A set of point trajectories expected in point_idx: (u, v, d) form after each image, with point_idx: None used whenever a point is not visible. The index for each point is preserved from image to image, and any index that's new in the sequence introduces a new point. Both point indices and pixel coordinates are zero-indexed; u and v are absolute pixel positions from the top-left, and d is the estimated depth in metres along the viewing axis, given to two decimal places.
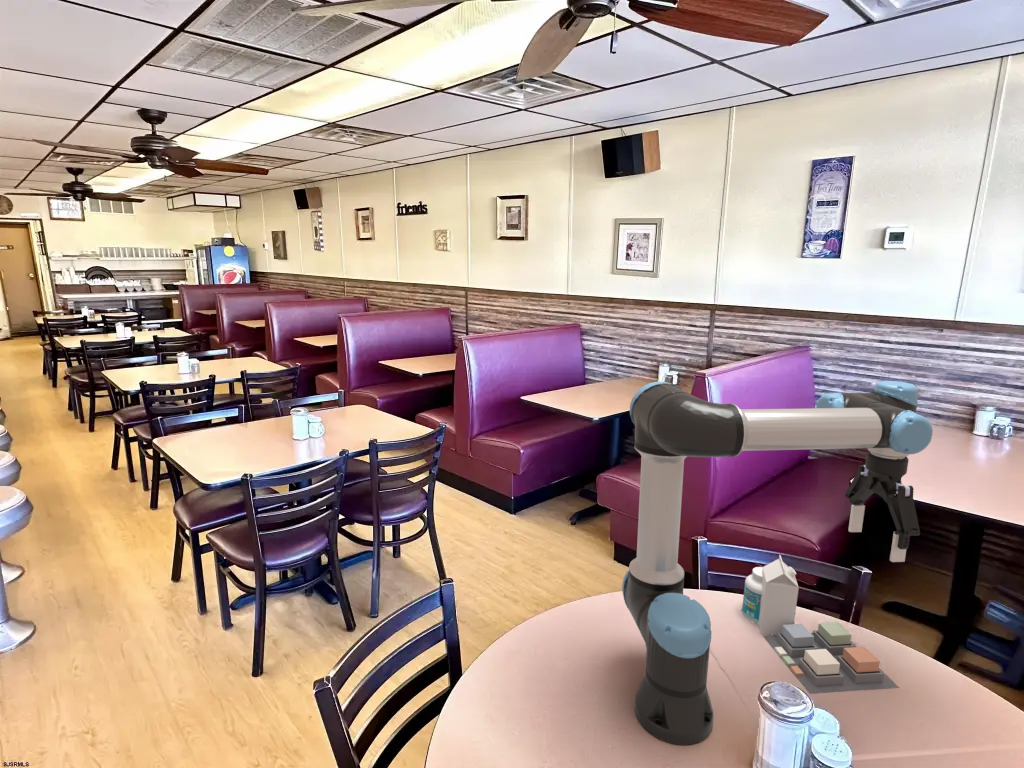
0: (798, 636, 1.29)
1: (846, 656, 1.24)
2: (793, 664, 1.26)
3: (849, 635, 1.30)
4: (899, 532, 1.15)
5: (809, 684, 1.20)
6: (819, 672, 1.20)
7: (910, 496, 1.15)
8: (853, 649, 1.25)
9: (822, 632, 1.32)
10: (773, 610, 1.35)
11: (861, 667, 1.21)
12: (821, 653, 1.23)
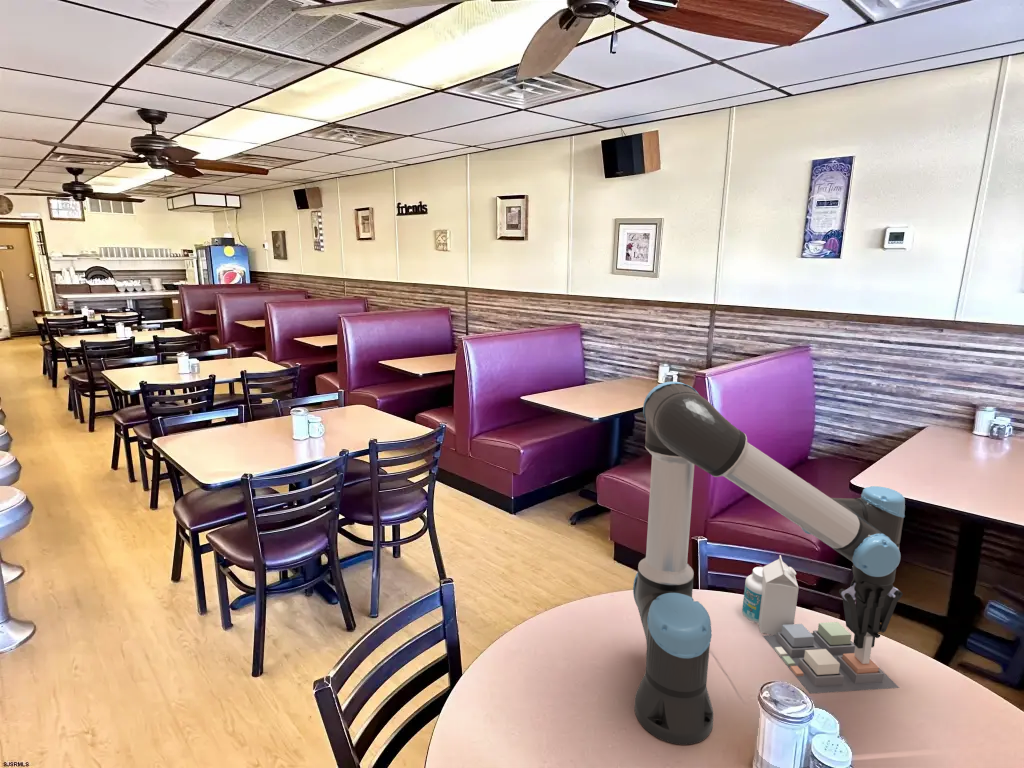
0: (798, 636, 1.29)
1: None
2: (793, 664, 1.26)
3: (849, 635, 1.30)
4: None
5: (809, 684, 1.20)
6: (819, 672, 1.20)
7: (847, 602, 1.19)
8: (853, 655, 1.25)
9: (822, 632, 1.32)
10: (773, 610, 1.35)
11: (860, 673, 1.21)
12: (821, 653, 1.23)
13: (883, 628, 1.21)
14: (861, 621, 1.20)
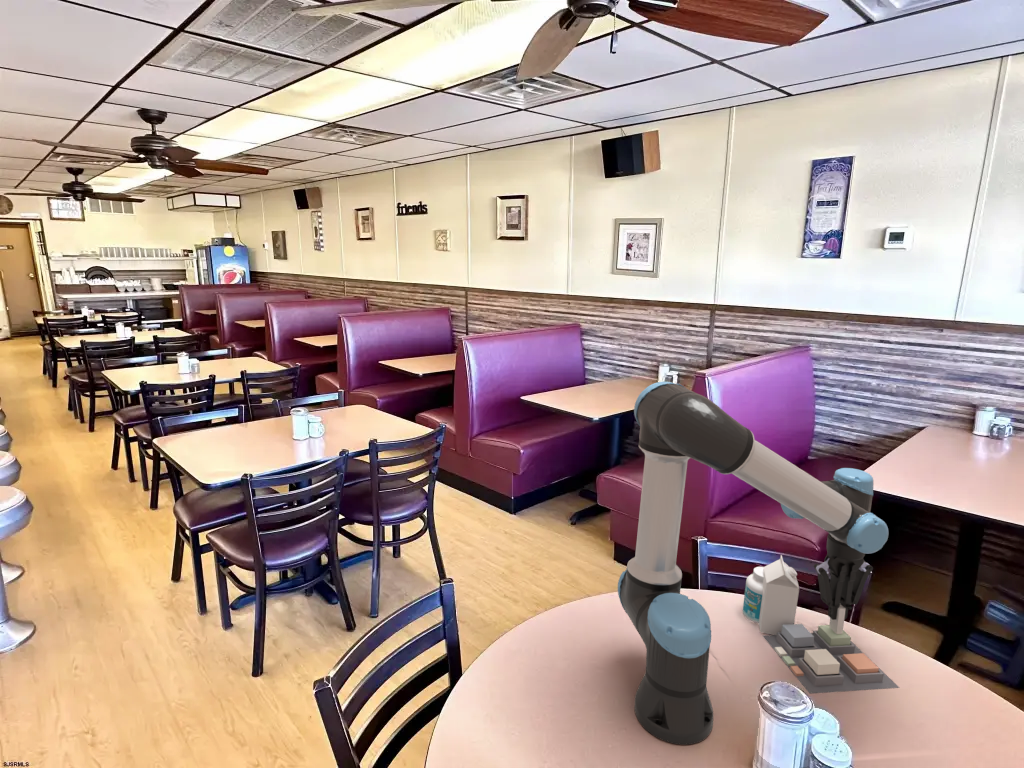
0: (798, 636, 1.29)
1: None
2: (793, 664, 1.26)
3: (849, 638, 1.30)
4: None
5: (809, 684, 1.20)
6: (819, 672, 1.20)
7: (821, 576, 1.28)
8: (852, 655, 1.25)
9: (822, 635, 1.33)
10: (773, 610, 1.35)
11: None
12: (821, 653, 1.23)
13: (855, 600, 1.29)
14: (834, 594, 1.29)
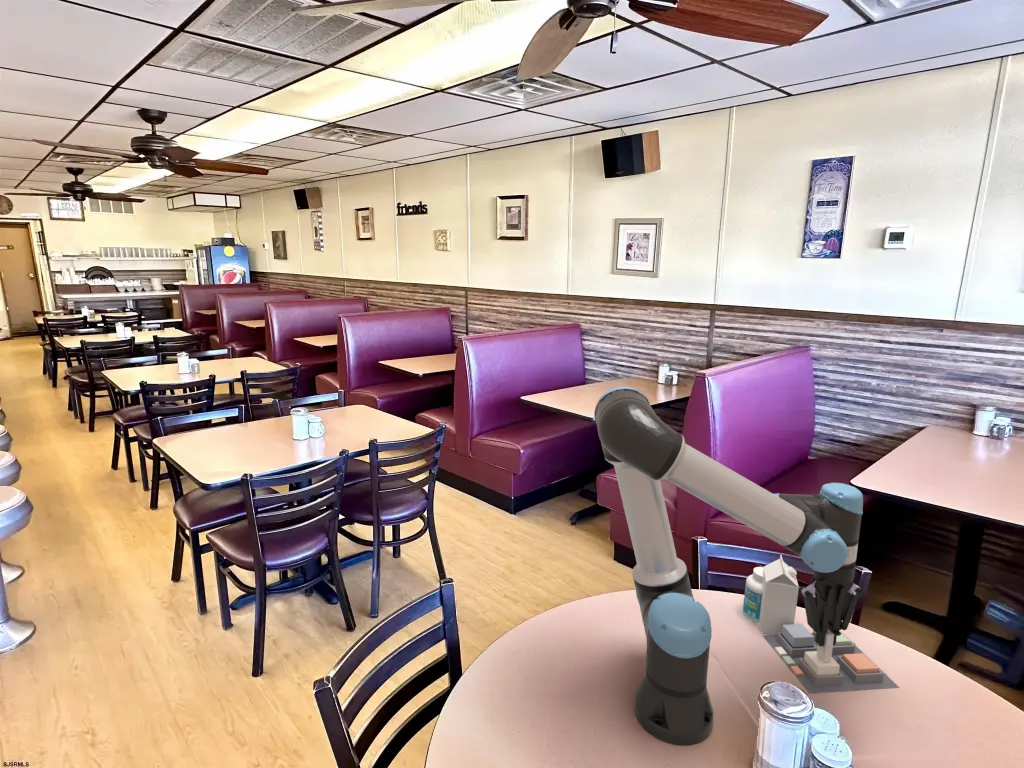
0: (798, 636, 1.29)
1: None
2: (793, 664, 1.26)
3: (848, 641, 1.30)
4: None
5: (809, 684, 1.20)
6: (819, 674, 1.20)
7: (807, 600, 1.18)
8: (852, 655, 1.25)
9: None
10: (773, 609, 1.35)
11: None
12: None
13: (844, 626, 1.20)
14: (822, 619, 1.19)
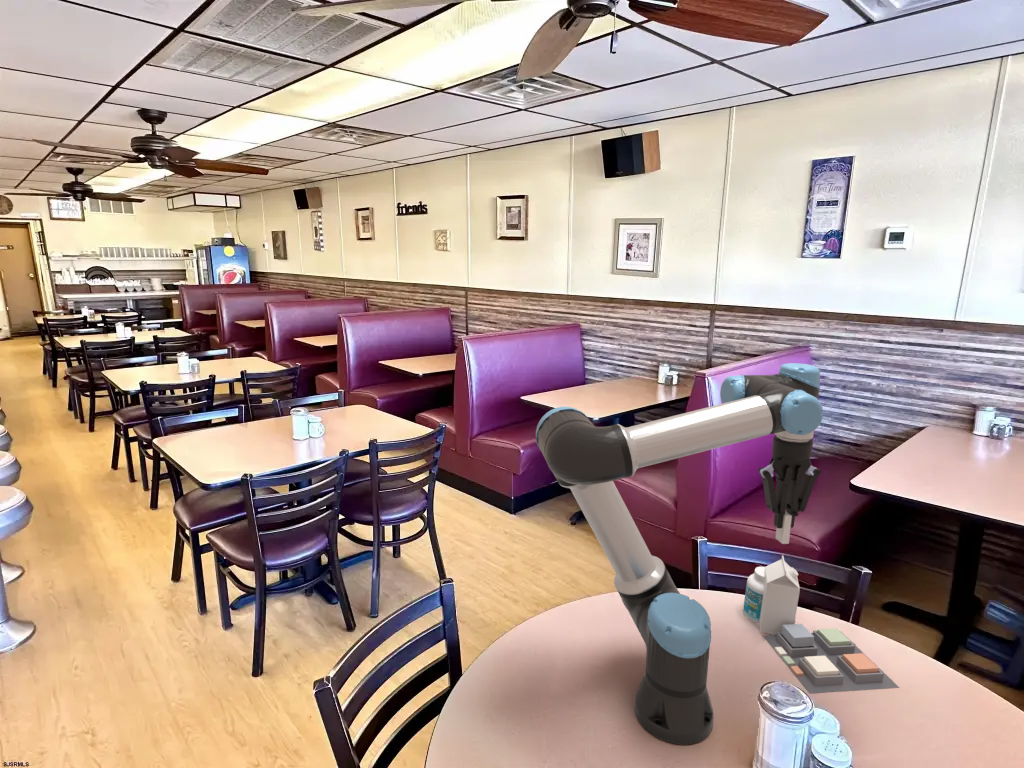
0: (798, 636, 1.29)
1: None
2: (793, 664, 1.26)
3: (848, 641, 1.30)
4: None
5: (809, 684, 1.20)
6: None
7: (766, 479, 1.19)
8: (852, 655, 1.25)
9: None
10: (773, 610, 1.35)
11: None
12: (820, 660, 1.23)
13: (802, 507, 1.21)
14: (780, 500, 1.21)
